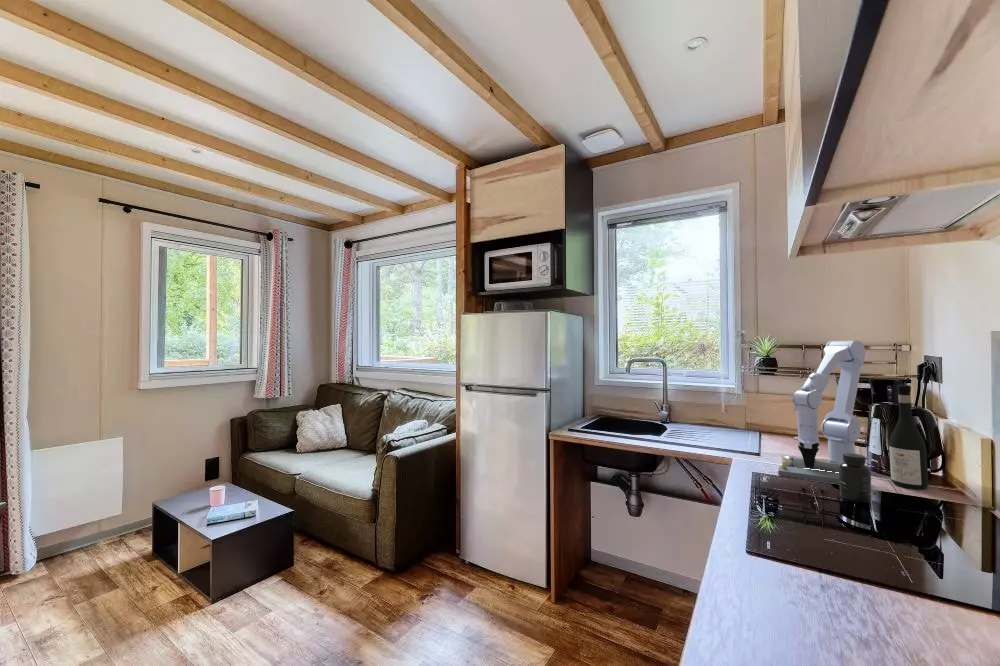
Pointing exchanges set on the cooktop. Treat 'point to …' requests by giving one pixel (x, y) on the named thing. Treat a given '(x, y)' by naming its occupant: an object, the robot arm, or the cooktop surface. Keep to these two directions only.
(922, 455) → the wine bottle
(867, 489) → the supplement bottle
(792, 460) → the grey long block
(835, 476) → the tool board
